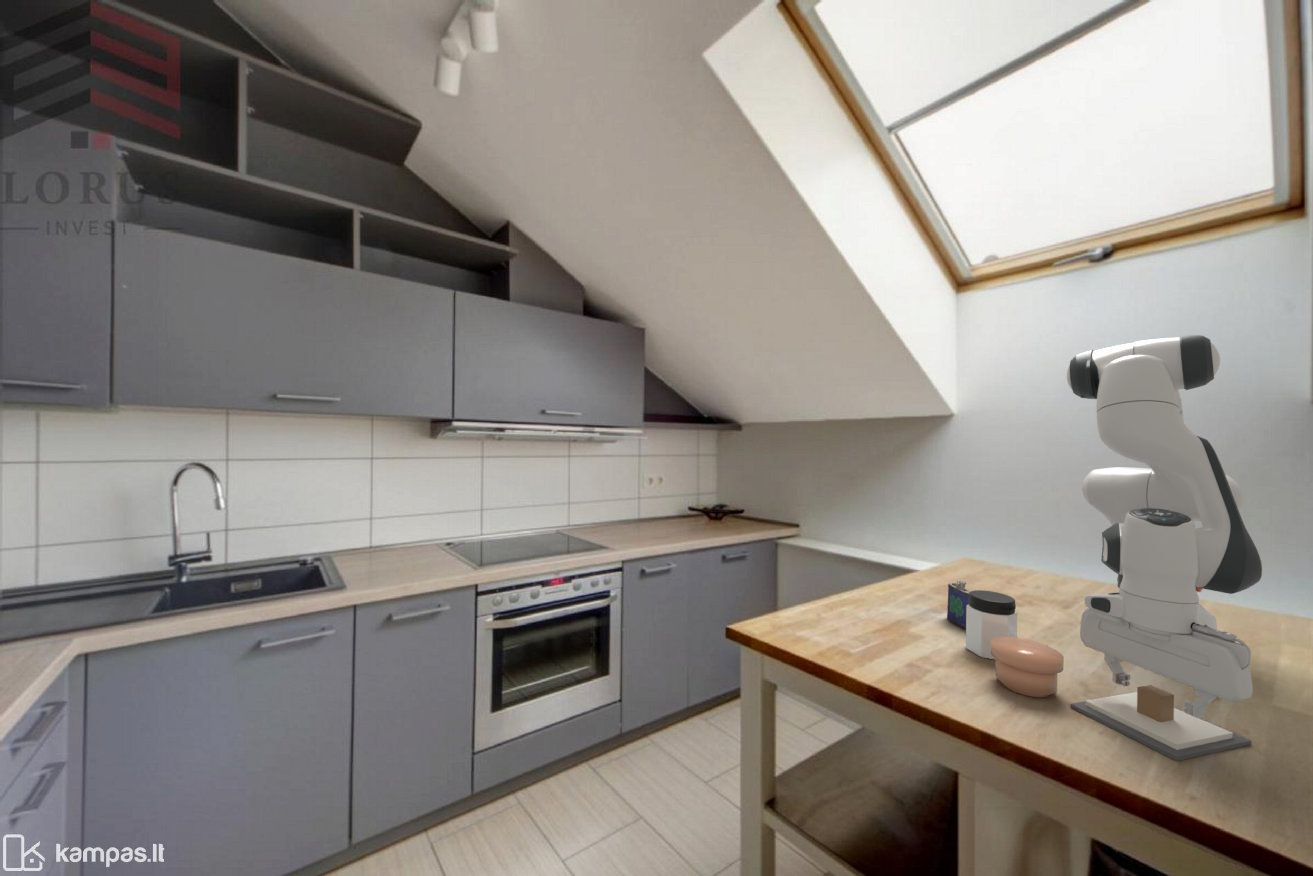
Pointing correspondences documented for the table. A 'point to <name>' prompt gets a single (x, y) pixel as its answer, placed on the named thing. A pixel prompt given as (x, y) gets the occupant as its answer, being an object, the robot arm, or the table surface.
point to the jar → (989, 620)
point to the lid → (1159, 718)
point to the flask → (957, 603)
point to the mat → (1159, 746)
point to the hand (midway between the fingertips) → (1155, 699)
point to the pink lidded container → (1026, 666)
